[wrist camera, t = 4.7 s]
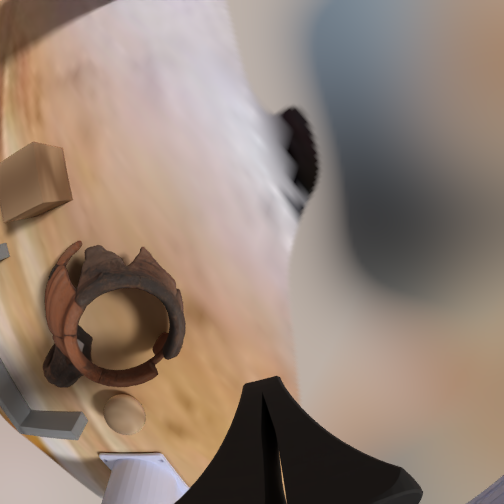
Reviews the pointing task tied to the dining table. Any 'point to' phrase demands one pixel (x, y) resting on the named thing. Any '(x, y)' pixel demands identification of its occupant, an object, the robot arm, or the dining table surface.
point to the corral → (36, 422)
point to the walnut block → (33, 181)
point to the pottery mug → (89, 288)
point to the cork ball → (124, 414)
